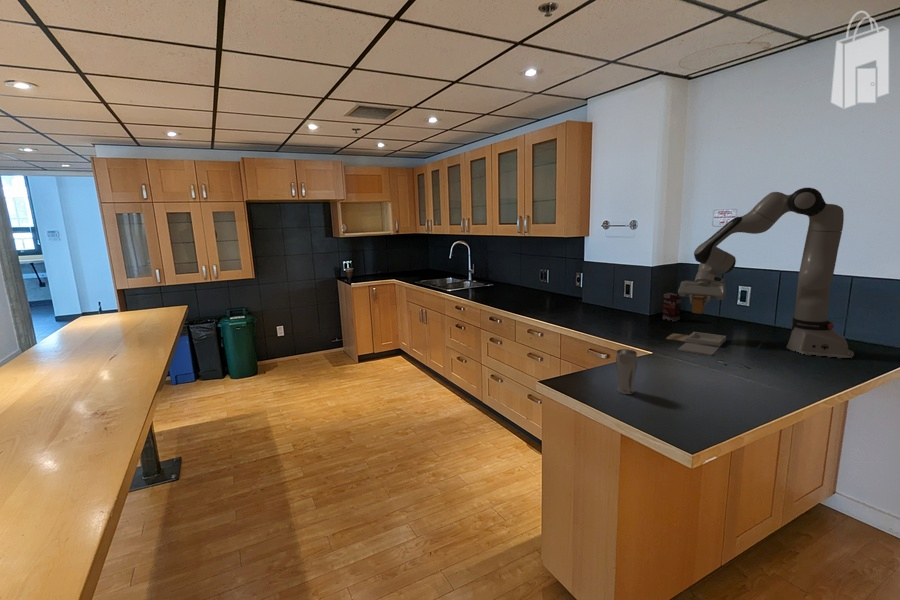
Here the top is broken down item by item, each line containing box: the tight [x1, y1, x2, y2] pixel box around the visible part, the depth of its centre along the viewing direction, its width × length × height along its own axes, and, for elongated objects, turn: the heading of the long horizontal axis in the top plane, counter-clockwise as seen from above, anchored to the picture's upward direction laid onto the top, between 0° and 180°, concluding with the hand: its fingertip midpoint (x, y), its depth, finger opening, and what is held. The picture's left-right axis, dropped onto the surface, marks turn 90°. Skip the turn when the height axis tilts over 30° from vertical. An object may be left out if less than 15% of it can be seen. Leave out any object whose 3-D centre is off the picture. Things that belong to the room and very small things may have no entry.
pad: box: [665, 333, 690, 343], centre depth 213 cm, size 9×12×1 cm
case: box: [677, 331, 727, 357], centre depth 200 cm, size 14×28×3 cm, turn 137°
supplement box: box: [662, 292, 682, 322], centre depth 250 cm, size 9×5×16 cm, turn 25°
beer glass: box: [615, 348, 638, 394], centre depth 151 cm, size 7×7×15 cm
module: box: [691, 295, 706, 315], centre depth 204 cm, size 4×4×8 cm
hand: (698, 303), depth 204 cm, fingers closed on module, 4 cm apart
